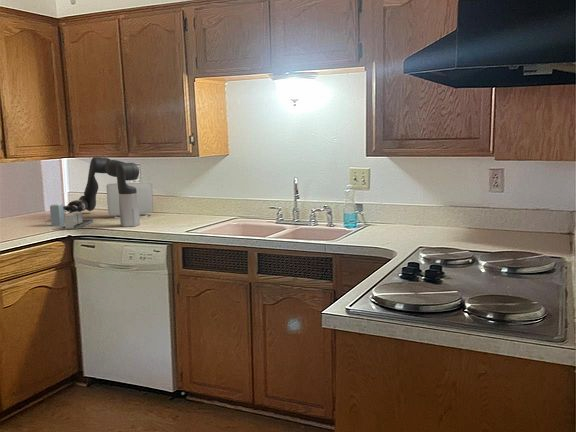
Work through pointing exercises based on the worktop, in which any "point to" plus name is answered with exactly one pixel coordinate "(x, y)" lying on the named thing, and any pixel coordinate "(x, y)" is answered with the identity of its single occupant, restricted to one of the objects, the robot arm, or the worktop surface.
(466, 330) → the worktop surface
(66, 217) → the rail
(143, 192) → the network device
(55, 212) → the block
